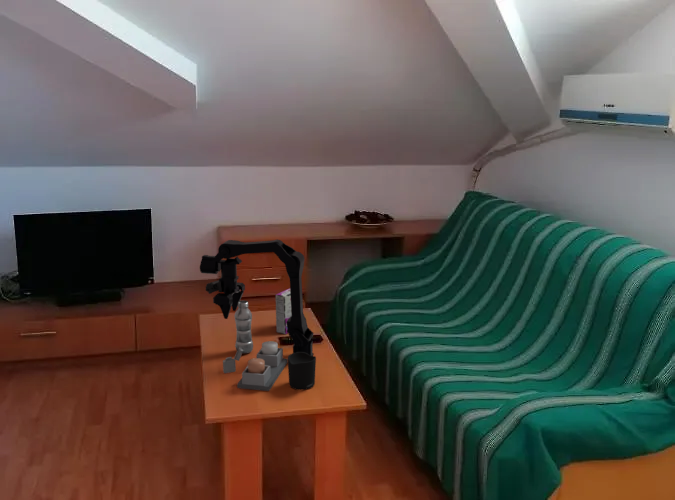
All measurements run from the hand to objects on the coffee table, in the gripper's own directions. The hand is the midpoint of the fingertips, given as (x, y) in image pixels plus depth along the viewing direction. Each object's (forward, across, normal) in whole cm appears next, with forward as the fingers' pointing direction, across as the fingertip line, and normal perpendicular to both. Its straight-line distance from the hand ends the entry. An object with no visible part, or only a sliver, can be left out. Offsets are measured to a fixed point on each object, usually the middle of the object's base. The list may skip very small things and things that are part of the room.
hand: (230, 314), depth 255 cm
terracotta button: (+10, +26, +18) cm, 33 cm away
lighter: (+15, +17, +7) cm, 23 cm away
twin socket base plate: (+15, +18, +18) cm, 29 cm away
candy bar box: (+15, -27, +15) cm, 34 cm away
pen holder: (+15, +23, +33) cm, 43 cm away
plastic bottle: (+15, 0, +5) cm, 16 cm away
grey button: (+10, +10, +18) cm, 23 cm away
